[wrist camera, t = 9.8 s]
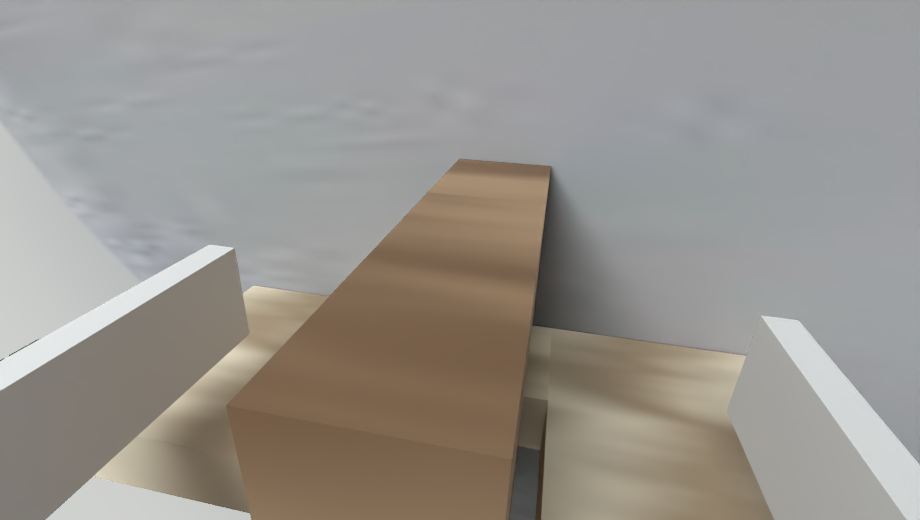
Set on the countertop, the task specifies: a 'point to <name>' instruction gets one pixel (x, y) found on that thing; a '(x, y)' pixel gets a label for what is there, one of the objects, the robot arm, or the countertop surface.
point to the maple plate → (542, 425)
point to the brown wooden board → (407, 367)
